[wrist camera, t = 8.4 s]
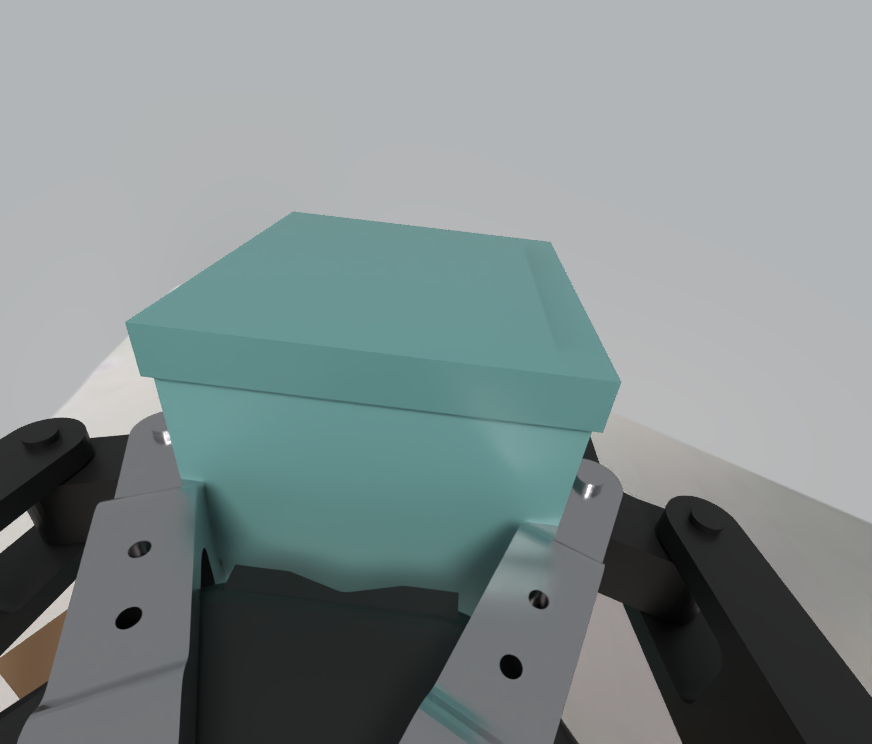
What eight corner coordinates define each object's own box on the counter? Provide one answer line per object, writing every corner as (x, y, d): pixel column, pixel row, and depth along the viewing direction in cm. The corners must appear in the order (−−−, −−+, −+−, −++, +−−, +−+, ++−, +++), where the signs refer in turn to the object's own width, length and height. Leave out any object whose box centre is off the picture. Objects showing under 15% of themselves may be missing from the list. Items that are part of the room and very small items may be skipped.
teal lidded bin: (311, 502, 16) (292, 211, 11) (485, 524, 16) (550, 242, 11) (233, 700, 11) (124, 322, 6) (491, 733, 11) (620, 382, 6)
